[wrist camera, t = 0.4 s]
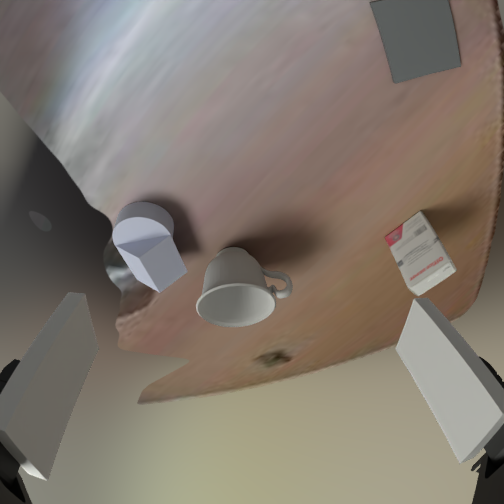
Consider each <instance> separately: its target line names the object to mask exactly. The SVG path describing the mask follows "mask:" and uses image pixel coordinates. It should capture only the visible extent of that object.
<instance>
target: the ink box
mask: <svg viewBox="0 0 504 504" xmlns="http://www.w3.org/2000/svg"><path fill="white" fill-rule="evenodd" d="M385 240H386V242H387V244H388V246H389V248H390V250H391V252H392V254H393V256H394V258H395V260H396V262H397V265H398V267H399V269H400V271H401V273H402V275H403V278H404V280H405V282H406V284H407V287H408V288H409V289H410V290H411V291H412V292H413V293H414V294H415V295H417V296H420V295H421V294H423V293H424V292H426V291H427V290H429V289H430V288H432V287H433V286H435V285H436V284H438V283H439V282H441V281H443V280H444V279H445V278H447V277H448V276H450V275H451V274H453V273H454V272H456V271H457V270H456V268H455V266H454V264H453V262H452V260H451V258H450V256H449V255H448V253H447V251H446V249H445V247H444V246H443V244H442V242H441V241H440V239H439V237H438V236H437V234H436V232H435V231H434V229H433V228H432V226H431V224H430V223H429V221H428V220H427V218H426V217H425V215H424V214H423V213H422V211H419V212H418V213H416V214H415V215H414V216H413V217H411V218H410V219H409V220H407V221H406V222H405V223H403V224H402V225H401V226H399V227H398V228H397V229H395V230H394V231H393V232H391V233H390V234H388V235H387V236H386V237H385Z"/></svg>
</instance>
